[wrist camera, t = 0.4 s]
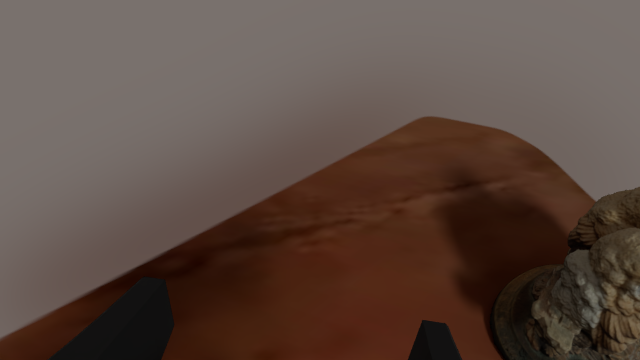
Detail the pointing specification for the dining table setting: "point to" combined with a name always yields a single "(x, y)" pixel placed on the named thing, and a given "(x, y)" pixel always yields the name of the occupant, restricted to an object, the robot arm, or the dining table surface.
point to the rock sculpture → (579, 293)
